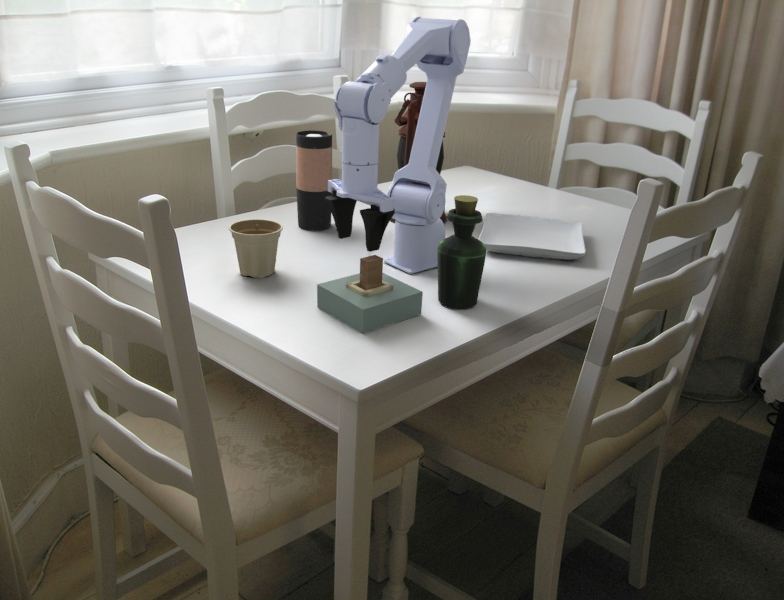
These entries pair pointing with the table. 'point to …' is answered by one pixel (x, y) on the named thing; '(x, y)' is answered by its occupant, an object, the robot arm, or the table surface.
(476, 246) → the potion bottle
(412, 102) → the lantern
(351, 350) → the table surface
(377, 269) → the brown wooden block
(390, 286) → the sage green square pedestal
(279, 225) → the flower pot
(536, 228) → the salad plate
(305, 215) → the travel mug
